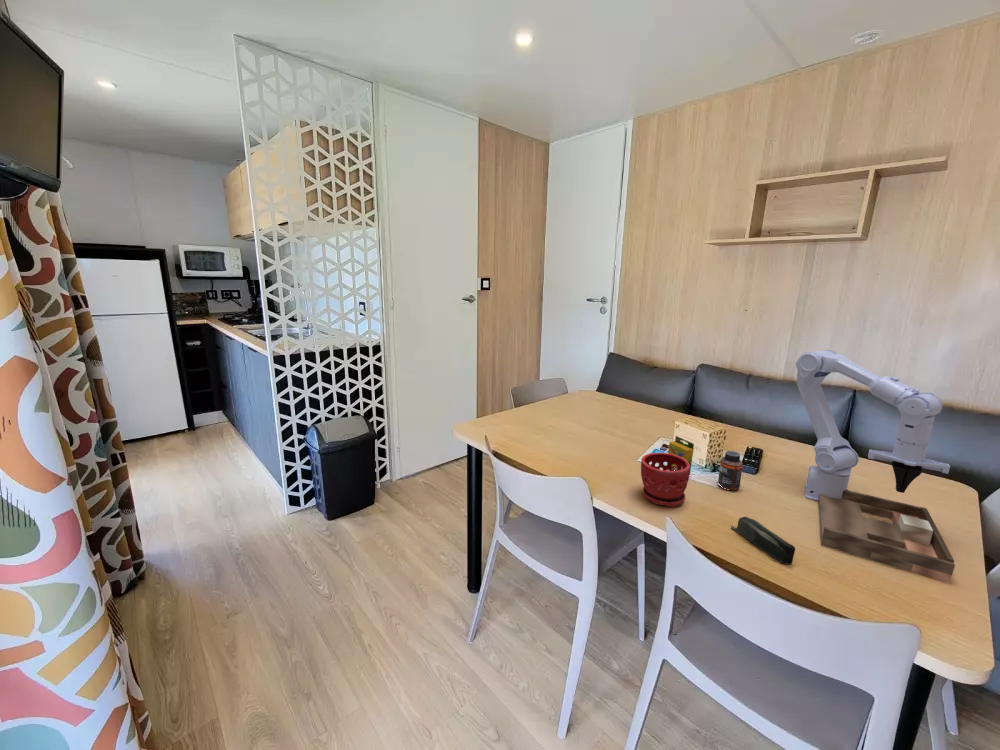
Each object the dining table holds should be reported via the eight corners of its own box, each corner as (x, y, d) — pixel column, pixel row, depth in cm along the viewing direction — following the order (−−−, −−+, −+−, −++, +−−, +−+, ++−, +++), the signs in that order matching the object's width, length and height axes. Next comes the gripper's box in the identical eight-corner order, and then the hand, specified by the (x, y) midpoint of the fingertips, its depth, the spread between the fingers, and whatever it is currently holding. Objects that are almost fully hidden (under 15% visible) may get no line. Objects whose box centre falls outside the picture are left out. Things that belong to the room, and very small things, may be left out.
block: (900, 538, 100) (904, 523, 99) (896, 528, 104) (900, 514, 103) (928, 545, 98) (933, 530, 97) (924, 535, 101) (928, 520, 101)
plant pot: (663, 484, 130) (667, 448, 127) (696, 505, 118) (701, 466, 115) (629, 491, 125) (632, 455, 122) (659, 514, 113) (664, 474, 110)
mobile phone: (798, 546, 93) (740, 509, 107) (789, 548, 92) (731, 512, 106) (794, 564, 94) (737, 526, 108) (784, 567, 93) (728, 528, 107)
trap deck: (821, 544, 101) (824, 526, 100) (817, 497, 122) (820, 482, 121) (949, 583, 88) (955, 563, 87) (920, 523, 110) (925, 506, 109)
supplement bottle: (739, 485, 129) (744, 451, 126) (739, 493, 124) (744, 459, 121) (718, 480, 132) (722, 447, 129) (716, 488, 127) (721, 454, 124)
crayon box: (665, 468, 140) (669, 436, 137) (671, 467, 141) (675, 435, 138) (684, 478, 134) (688, 444, 131) (690, 476, 135) (694, 443, 132)
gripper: (874, 439, 104) (864, 488, 107) (958, 453, 95) (943, 506, 98) (871, 431, 109) (861, 478, 112) (950, 444, 101) (937, 494, 104)
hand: (899, 490), depth 106 cm, fingers closed
